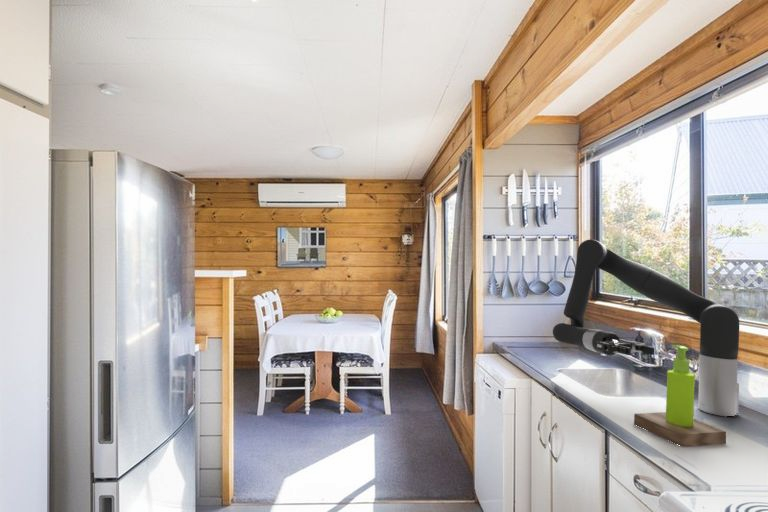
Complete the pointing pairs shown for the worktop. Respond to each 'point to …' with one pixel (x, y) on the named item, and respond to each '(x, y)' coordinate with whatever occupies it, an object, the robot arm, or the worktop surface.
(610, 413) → the worktop surface
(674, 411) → the soap dispenser
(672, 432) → the wooden cutting board
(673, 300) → the robot arm
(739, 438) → the worktop surface
